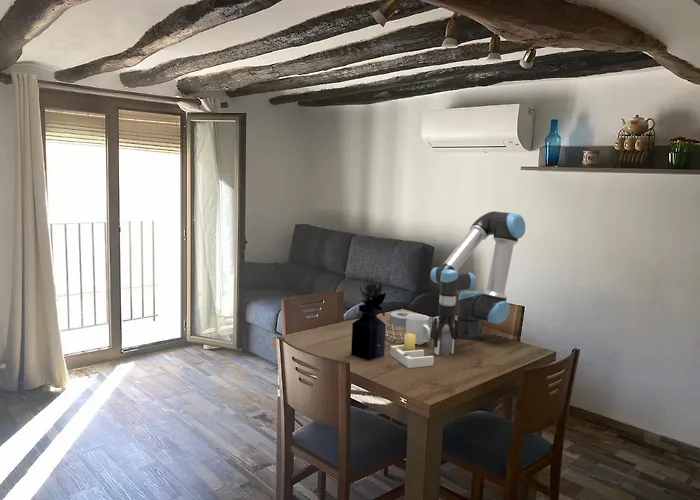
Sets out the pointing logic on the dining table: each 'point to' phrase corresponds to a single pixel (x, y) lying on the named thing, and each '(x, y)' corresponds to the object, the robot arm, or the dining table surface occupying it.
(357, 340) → the vase
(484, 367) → the dining table surface
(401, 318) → the grey wheel
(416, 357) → the comb rack
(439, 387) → the dining table surface
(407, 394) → the dining table surface
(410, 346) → the ochre plug
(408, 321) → the mug
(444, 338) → the charcoal plug
